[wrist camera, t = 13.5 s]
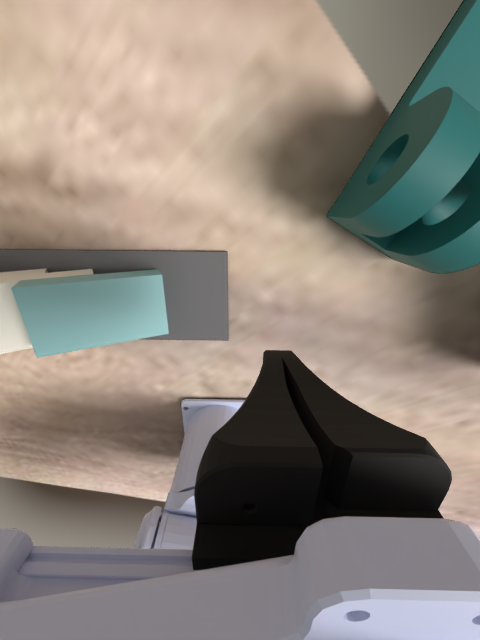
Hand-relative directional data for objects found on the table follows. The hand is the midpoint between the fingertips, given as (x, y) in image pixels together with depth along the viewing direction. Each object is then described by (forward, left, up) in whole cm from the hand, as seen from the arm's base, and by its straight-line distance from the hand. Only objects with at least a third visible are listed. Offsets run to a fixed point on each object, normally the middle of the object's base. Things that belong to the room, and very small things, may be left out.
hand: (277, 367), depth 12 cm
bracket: (+13, -12, -11) cm, 21 cm away
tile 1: (0, +8, -9) cm, 12 cm away
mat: (0, +15, -10) cm, 18 cm away
